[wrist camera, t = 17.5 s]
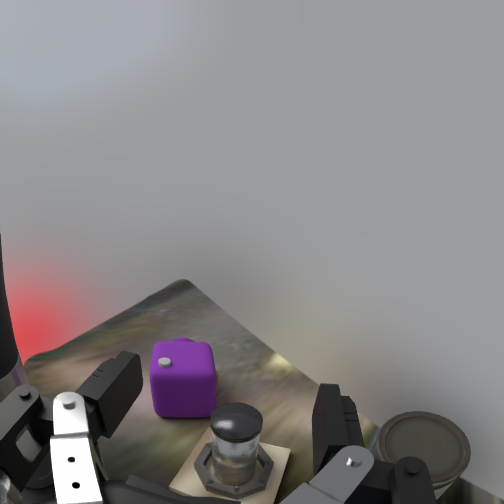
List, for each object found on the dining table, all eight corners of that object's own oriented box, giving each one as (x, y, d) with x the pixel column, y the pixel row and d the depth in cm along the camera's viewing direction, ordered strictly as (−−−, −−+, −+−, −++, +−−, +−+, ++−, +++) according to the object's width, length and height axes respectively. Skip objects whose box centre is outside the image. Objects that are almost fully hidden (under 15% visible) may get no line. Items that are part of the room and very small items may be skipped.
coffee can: (328, 489, 28) (363, 418, 25) (398, 475, 29) (442, 403, 25) (345, 552, 18) (400, 499, 15) (422, 529, 19) (487, 464, 15)
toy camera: (204, 368, 53) (204, 322, 51) (227, 417, 41) (230, 367, 39) (146, 373, 49) (141, 326, 47) (157, 427, 37) (150, 376, 34)
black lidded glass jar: (204, 477, 28) (201, 426, 26) (222, 450, 33) (223, 397, 31) (246, 491, 27) (252, 443, 25) (261, 461, 32) (269, 410, 29)
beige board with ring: (169, 489, 26) (167, 480, 26) (207, 431, 38) (207, 420, 37) (266, 521, 23) (269, 513, 23) (289, 453, 34) (292, 442, 34)
